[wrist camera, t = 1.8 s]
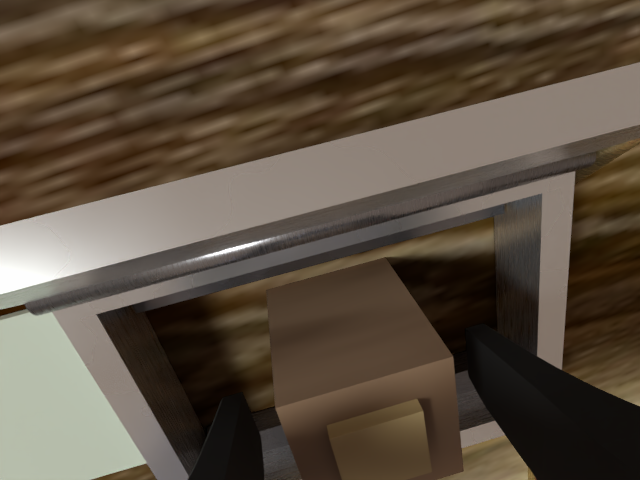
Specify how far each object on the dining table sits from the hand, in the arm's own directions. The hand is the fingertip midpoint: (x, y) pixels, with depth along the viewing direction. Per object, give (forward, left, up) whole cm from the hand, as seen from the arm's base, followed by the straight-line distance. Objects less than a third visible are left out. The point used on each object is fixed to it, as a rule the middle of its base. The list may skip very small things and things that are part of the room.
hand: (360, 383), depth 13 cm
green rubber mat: (0, +13, -3) cm, 13 cm away
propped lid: (+6, 0, -2) cm, 7 cm away
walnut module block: (0, 0, -3) cm, 3 cm away
